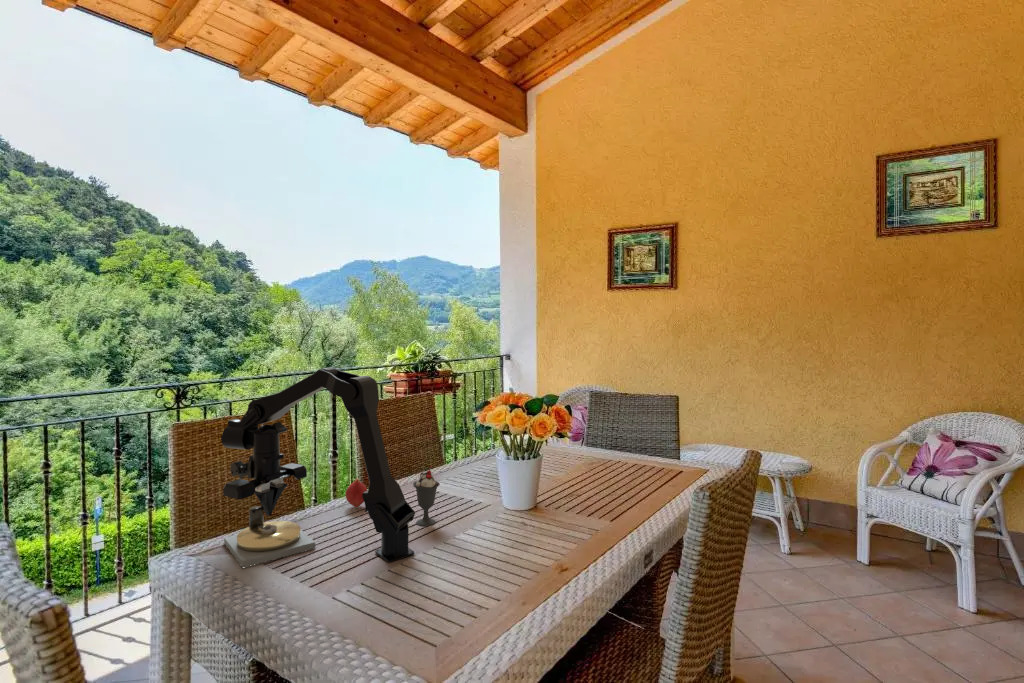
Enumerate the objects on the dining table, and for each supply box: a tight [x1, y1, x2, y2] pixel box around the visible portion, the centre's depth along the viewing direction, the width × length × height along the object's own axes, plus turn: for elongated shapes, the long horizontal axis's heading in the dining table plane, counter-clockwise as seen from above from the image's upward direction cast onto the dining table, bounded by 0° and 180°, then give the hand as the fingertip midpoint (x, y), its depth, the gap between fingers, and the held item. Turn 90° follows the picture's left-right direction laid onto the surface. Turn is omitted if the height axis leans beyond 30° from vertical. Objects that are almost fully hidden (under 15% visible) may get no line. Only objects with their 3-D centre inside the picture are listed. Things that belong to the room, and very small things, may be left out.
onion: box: [345, 478, 368, 508], centre depth 145 cm, size 6×6×8 cm
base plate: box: [223, 528, 316, 568], centre depth 120 cm, size 15×15×2 cm
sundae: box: [412, 465, 440, 527], centre depth 135 cm, size 7×7×15 cm
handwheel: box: [236, 505, 301, 551], centre depth 120 cm, size 13×13×6 cm
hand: (268, 515), depth 126 cm, fingers closed
